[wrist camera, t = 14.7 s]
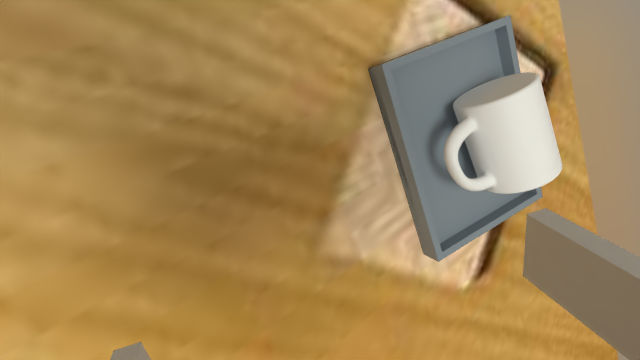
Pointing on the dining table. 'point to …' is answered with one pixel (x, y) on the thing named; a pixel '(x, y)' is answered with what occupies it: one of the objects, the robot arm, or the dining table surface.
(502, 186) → the mug
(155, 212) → the dining table surface
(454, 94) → the tray
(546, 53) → the dining table surface
